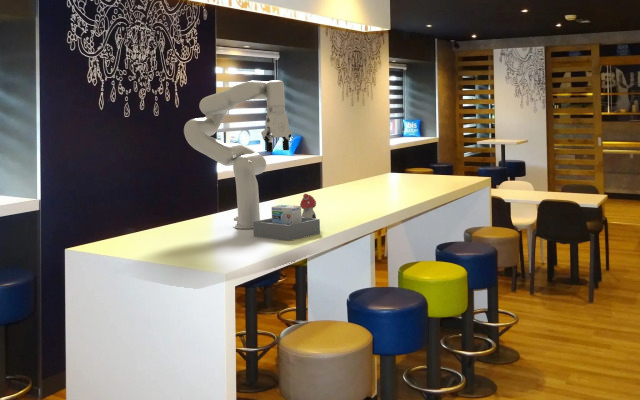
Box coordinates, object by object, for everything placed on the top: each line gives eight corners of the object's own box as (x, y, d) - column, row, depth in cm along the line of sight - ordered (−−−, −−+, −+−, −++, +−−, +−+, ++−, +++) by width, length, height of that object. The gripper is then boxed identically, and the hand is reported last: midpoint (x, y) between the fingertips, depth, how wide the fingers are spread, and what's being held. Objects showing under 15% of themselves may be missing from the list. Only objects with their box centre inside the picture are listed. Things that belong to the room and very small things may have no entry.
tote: (254, 236, 284) (253, 221, 283) (285, 229, 297) (284, 215, 297) (289, 240, 271) (288, 225, 270) (320, 233, 284) (319, 218, 283)
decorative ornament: (308, 229, 295) (307, 194, 293) (296, 228, 298) (294, 193, 296) (321, 226, 302) (320, 191, 300) (309, 225, 306) (308, 191, 304)
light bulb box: (271, 232, 285) (270, 206, 283) (282, 230, 290) (280, 204, 289) (292, 234, 279) (291, 207, 277) (302, 231, 284) (301, 205, 283)
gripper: (267, 110, 286) (269, 152, 288) (296, 109, 299) (298, 149, 301) (254, 111, 291) (256, 152, 293) (284, 110, 304) (286, 149, 306)
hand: (277, 151), depth 297 cm, fingers open, 9 cm apart
